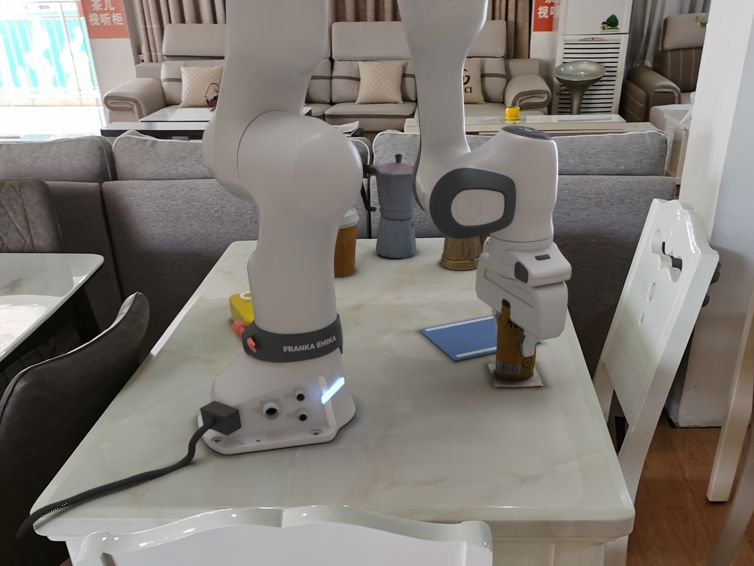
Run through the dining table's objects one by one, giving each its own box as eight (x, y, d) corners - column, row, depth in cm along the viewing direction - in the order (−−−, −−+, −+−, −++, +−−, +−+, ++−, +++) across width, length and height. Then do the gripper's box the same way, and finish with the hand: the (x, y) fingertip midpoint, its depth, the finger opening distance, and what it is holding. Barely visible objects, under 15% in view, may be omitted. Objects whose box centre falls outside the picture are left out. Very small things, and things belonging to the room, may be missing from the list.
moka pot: (429, 259, 167) (429, 158, 155) (358, 261, 167) (352, 160, 155) (429, 246, 174) (429, 148, 162) (360, 247, 175) (355, 150, 163)
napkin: (455, 361, 125) (455, 359, 125) (419, 331, 136) (419, 329, 135) (540, 343, 130) (540, 341, 130) (499, 315, 140) (500, 313, 140)
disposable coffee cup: (321, 264, 166) (316, 205, 159) (365, 265, 165) (362, 205, 158) (311, 279, 159) (306, 218, 151) (357, 280, 157) (354, 218, 150)
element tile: (251, 347, 132) (247, 320, 129) (229, 318, 143) (225, 292, 140) (334, 331, 137) (332, 304, 134) (307, 303, 148) (304, 278, 145)
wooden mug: (506, 269, 160) (512, 175, 149) (441, 271, 161) (441, 177, 150) (502, 256, 167) (507, 165, 156) (440, 257, 168) (440, 167, 157)
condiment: (532, 363, 124) (538, 288, 117) (543, 386, 117) (550, 309, 110) (487, 365, 124) (490, 290, 117) (495, 388, 117) (498, 311, 110)
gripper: (466, 237, 117) (464, 326, 125) (538, 278, 102) (530, 375, 110) (503, 231, 119) (499, 319, 127) (579, 271, 104) (568, 367, 112)
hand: (514, 345), depth 119 cm, fingers closed on condiment, 6 cm apart
